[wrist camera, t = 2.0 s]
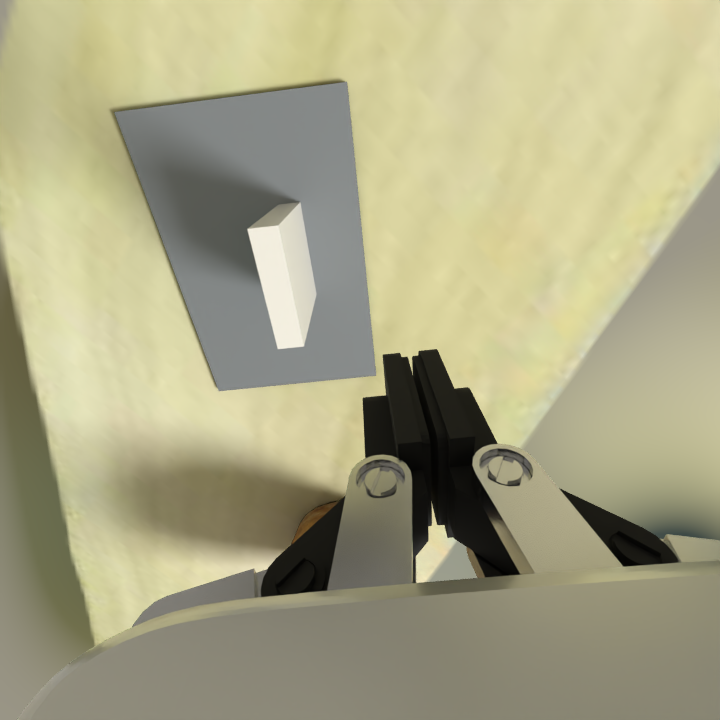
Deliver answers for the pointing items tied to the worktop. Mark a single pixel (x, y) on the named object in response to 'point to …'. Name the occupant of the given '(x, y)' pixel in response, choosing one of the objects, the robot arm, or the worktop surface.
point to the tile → (285, 272)
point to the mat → (244, 208)
